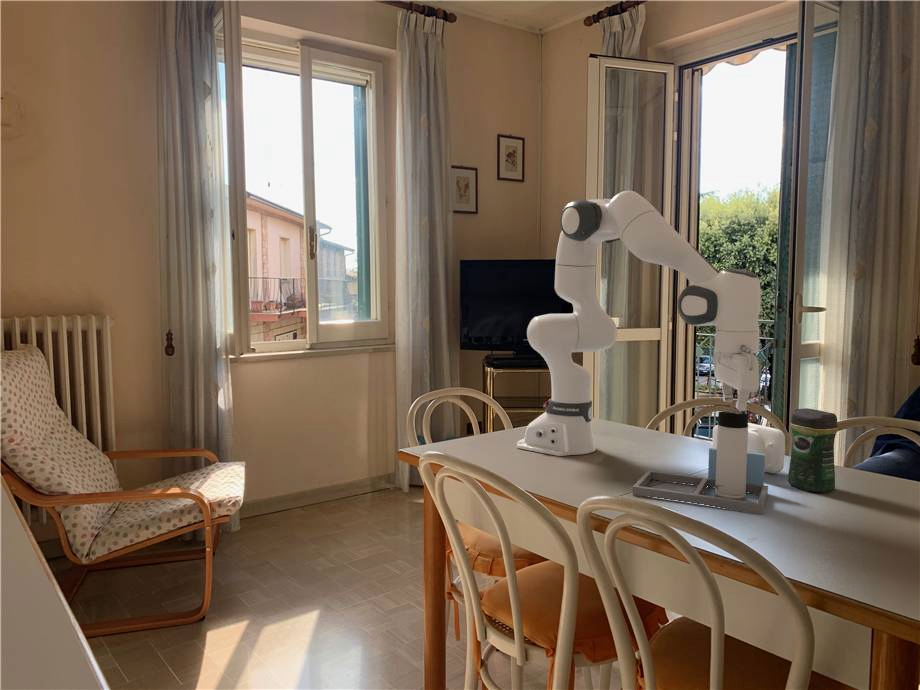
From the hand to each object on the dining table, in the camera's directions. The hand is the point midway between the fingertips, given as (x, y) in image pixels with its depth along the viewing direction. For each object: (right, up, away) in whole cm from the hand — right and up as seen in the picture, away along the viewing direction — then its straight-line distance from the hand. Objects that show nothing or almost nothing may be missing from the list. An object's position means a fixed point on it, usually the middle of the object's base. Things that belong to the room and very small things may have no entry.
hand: (734, 406), depth 152 cm
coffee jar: (+22, -20, +10) cm, 32 cm away
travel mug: (0, -21, +2) cm, 21 cm away
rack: (-6, -21, +5) cm, 22 cm away
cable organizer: (+13, -19, +25) cm, 34 cm away
